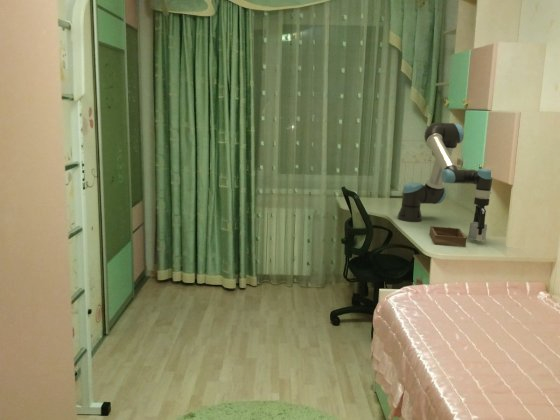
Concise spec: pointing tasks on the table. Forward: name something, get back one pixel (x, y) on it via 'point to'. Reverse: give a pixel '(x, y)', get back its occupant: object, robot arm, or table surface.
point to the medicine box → (474, 230)
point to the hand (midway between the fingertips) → (476, 238)
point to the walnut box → (447, 236)
